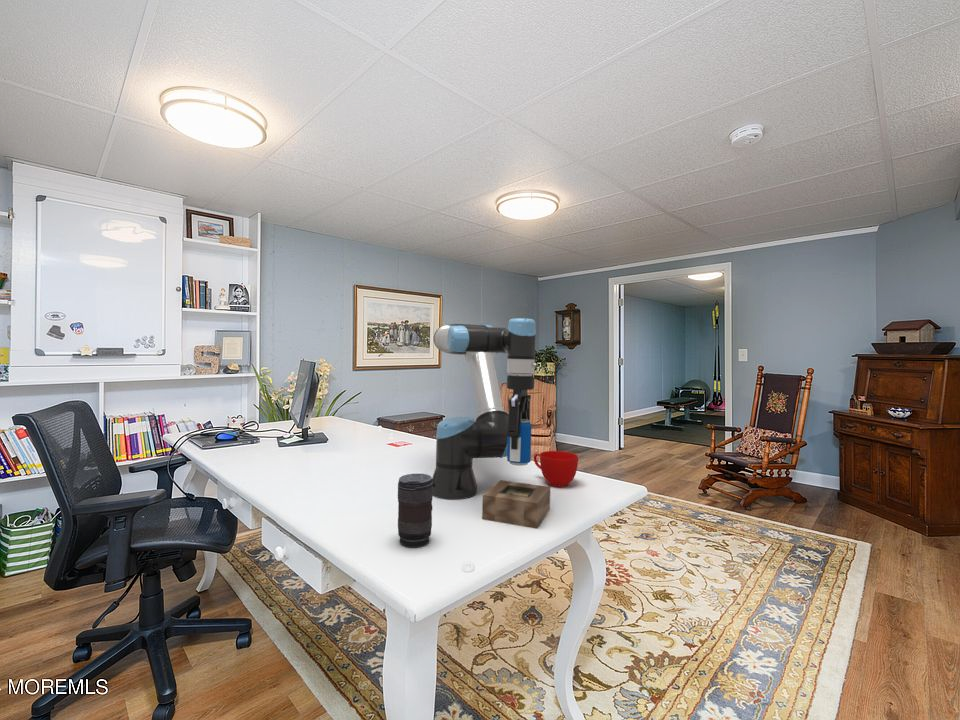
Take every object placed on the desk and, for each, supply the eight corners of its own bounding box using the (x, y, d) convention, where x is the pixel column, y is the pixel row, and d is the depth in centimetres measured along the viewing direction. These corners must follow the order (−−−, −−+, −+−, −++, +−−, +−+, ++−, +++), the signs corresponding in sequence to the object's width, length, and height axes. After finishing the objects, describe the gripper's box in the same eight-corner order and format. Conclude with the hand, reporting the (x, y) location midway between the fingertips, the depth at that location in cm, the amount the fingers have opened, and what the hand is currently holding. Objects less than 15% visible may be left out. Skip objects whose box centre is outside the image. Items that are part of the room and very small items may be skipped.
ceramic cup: (544, 474, 162) (545, 447, 162) (584, 484, 151) (585, 455, 150) (522, 480, 153) (523, 452, 153) (563, 492, 141) (564, 461, 141)
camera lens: (398, 534, 106) (399, 472, 106) (432, 534, 107) (433, 472, 106) (394, 549, 98) (396, 482, 98) (431, 548, 99) (432, 482, 98)
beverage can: (532, 461, 123) (533, 419, 123) (527, 467, 117) (528, 422, 117) (510, 459, 125) (511, 417, 125) (504, 464, 119) (505, 420, 119)
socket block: (482, 519, 117) (482, 494, 117) (500, 501, 131) (500, 480, 131) (536, 528, 112) (537, 503, 111) (549, 509, 126) (550, 486, 125)
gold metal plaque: (501, 500, 119) (501, 496, 119) (509, 492, 126) (509, 488, 126) (526, 503, 117) (526, 500, 117) (533, 495, 123) (533, 492, 123)
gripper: (524, 376, 110) (522, 468, 111) (542, 374, 128) (540, 452, 129) (496, 375, 113) (494, 464, 113) (517, 373, 131) (515, 449, 131)
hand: (518, 458), depth 121 cm, fingers closed on beverage can, 6 cm apart
